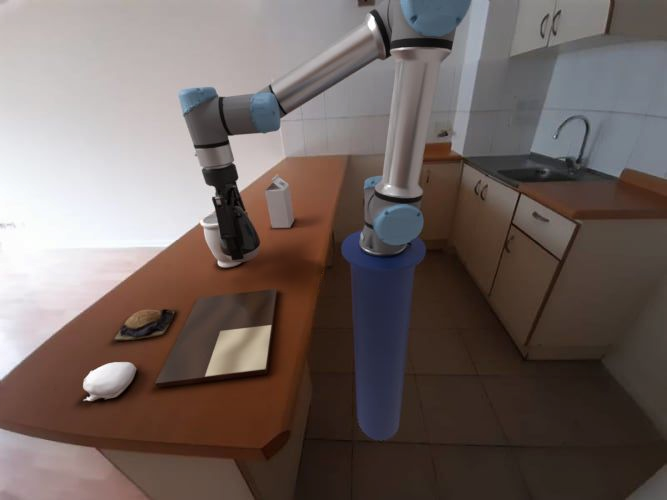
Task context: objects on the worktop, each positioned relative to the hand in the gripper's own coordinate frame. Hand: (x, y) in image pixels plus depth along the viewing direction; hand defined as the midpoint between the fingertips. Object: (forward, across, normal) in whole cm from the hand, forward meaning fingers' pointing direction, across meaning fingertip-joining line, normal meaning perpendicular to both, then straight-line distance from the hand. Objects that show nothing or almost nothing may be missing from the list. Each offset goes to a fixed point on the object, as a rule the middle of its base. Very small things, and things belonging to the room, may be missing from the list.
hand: (242, 248), depth 75 cm
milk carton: (+10, -34, +8) cm, 36 cm away
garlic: (+9, +31, -20) cm, 38 cm away
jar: (+9, -10, -8) cm, 16 cm away
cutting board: (+9, +21, -2) cm, 23 cm away
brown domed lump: (+9, +16, -22) cm, 28 cm away
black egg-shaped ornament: (+3, 0, 0) cm, 3 cm away
